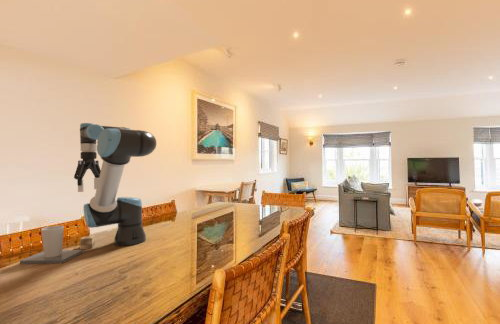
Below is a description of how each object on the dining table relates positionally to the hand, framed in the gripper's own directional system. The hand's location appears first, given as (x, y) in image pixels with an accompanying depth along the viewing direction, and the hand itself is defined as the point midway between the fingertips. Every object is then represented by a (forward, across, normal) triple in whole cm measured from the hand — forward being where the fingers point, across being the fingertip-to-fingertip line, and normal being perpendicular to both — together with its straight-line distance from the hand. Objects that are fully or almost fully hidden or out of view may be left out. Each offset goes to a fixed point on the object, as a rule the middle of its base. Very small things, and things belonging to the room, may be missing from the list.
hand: (89, 190), depth 145 cm
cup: (+26, +28, +2) cm, 38 cm away
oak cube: (+27, +14, +8) cm, 31 cm away
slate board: (+27, +28, +2) cm, 39 cm away
